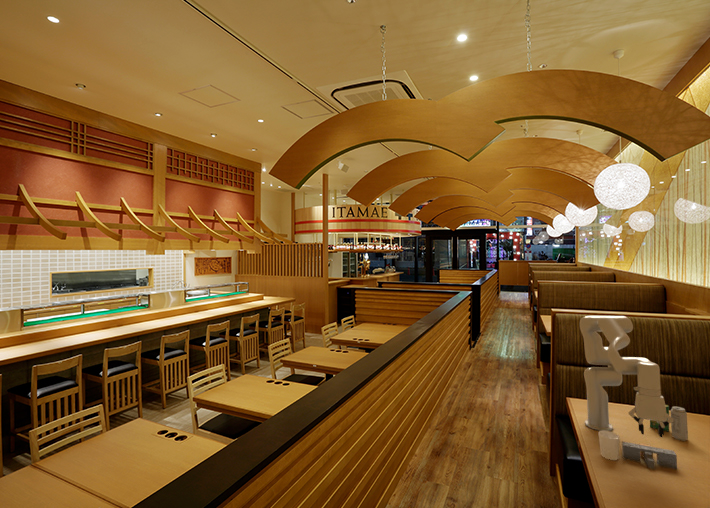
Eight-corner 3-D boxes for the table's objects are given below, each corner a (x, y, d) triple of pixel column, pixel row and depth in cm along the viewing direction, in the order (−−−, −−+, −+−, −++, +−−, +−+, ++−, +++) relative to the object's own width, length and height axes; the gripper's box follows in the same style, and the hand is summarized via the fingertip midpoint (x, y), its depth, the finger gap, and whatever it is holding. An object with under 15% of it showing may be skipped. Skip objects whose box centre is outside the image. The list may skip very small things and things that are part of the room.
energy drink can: (691, 441, 176) (689, 411, 176) (677, 441, 177) (675, 410, 177) (682, 436, 182) (681, 406, 182) (669, 435, 183) (667, 405, 183)
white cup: (616, 453, 167) (615, 431, 167) (623, 462, 159) (622, 439, 160) (596, 451, 169) (596, 429, 170) (602, 459, 162) (601, 437, 162)
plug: (639, 451, 168) (638, 443, 168) (651, 454, 166) (650, 445, 166) (645, 467, 155) (644, 457, 155) (658, 470, 153) (657, 460, 153)
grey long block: (622, 454, 166) (621, 441, 166) (674, 464, 157) (673, 450, 157) (623, 458, 162) (623, 445, 162) (677, 469, 153) (676, 455, 153)
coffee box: (670, 430, 188) (669, 405, 189) (669, 432, 186) (668, 406, 187) (650, 425, 194) (649, 401, 194) (649, 427, 192) (648, 402, 192)
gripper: (625, 391, 154) (627, 433, 154) (678, 397, 146) (680, 442, 145) (623, 386, 161) (624, 426, 160) (672, 391, 153) (675, 435, 152)
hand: (651, 434), depth 153 cm, fingers open, 5 cm apart
